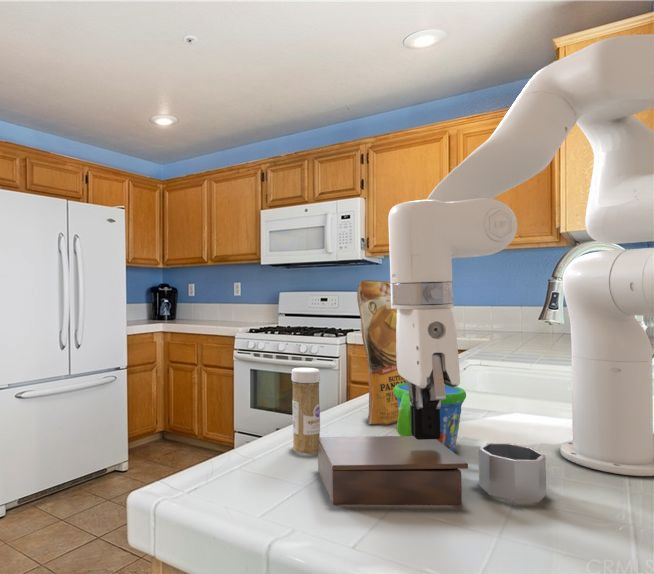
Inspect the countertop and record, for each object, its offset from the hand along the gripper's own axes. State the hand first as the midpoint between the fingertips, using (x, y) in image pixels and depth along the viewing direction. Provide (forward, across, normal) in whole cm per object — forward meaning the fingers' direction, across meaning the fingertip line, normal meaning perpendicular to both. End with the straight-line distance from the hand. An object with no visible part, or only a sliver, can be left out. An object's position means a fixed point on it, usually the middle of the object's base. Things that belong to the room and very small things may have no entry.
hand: (425, 437), depth 64 cm
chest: (+7, 0, +6) cm, 9 cm away
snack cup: (+7, +16, -6) cm, 18 cm away
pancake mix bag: (+8, +36, -6) cm, 38 cm away
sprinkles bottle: (+7, +15, +14) cm, 21 cm away
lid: (+2, 0, +5) cm, 6 cm away
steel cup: (+7, -1, -10) cm, 12 cm away
